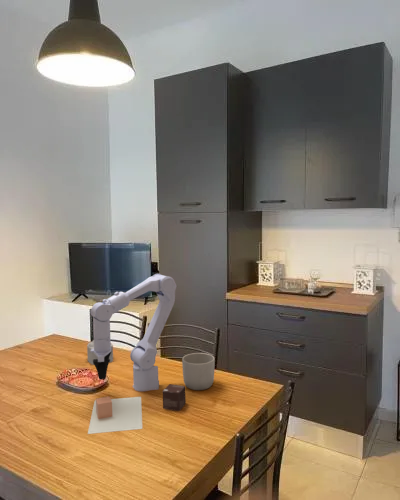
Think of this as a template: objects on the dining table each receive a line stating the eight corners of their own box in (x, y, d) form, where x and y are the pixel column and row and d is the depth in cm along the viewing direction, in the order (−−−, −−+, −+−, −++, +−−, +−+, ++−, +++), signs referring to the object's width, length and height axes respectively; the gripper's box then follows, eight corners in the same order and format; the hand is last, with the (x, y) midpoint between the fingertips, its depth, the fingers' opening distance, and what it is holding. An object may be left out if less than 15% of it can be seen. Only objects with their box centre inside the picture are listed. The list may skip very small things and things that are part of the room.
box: (186, 406, 138) (185, 385, 137) (179, 414, 132) (179, 393, 131) (169, 404, 140) (169, 383, 139) (162, 412, 134) (162, 390, 133)
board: (141, 399, 143) (140, 387, 142) (142, 432, 121) (142, 417, 121) (94, 403, 140) (94, 390, 140) (87, 437, 119) (87, 422, 118)
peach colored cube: (96, 412, 131) (95, 398, 131) (109, 410, 133) (109, 396, 132) (98, 419, 127) (97, 404, 127) (112, 416, 129) (111, 401, 128)
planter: (178, 390, 150) (177, 362, 149) (188, 378, 162) (187, 351, 161) (210, 394, 147) (210, 365, 146) (218, 381, 159) (217, 354, 158)
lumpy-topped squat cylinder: (92, 366, 176) (92, 346, 175) (84, 357, 187) (83, 339, 186) (115, 361, 182) (115, 342, 181) (105, 353, 192) (105, 335, 192)
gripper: (92, 331, 147) (93, 367, 148) (87, 344, 133) (89, 384, 134) (112, 330, 148) (113, 366, 150) (109, 342, 134) (110, 382, 135)
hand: (103, 374), depth 142 cm, fingers open, 7 cm apart
